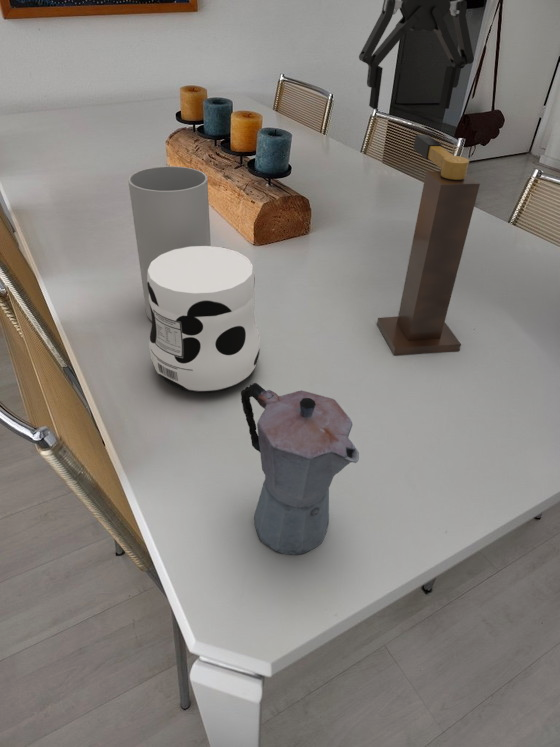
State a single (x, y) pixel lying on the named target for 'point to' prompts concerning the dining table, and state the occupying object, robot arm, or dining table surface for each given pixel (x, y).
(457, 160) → the lever
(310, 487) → the moka pot
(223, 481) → the dining table surface
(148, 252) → the cylinder vase
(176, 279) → the milk container
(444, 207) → the stand
